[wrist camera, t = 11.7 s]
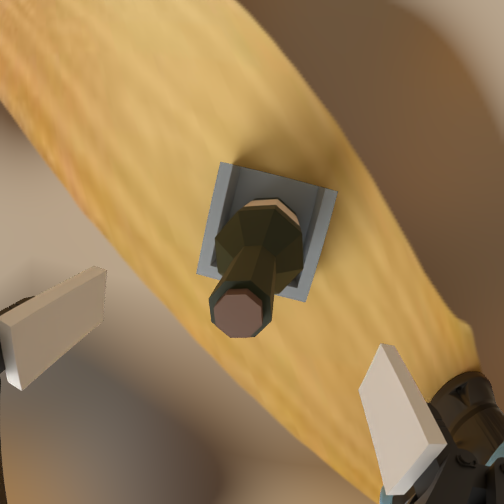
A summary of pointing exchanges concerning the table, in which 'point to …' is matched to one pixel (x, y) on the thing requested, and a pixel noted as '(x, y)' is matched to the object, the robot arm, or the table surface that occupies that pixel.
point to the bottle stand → (267, 186)
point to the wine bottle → (254, 265)
